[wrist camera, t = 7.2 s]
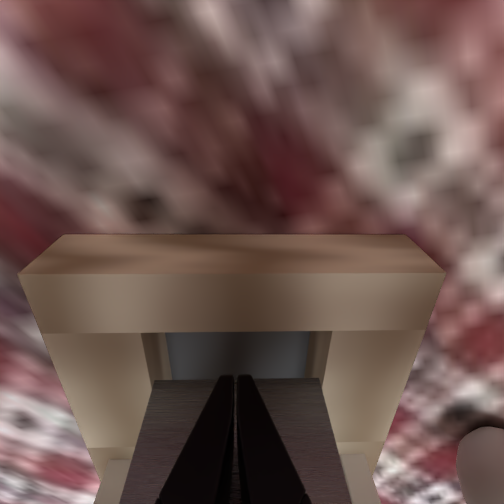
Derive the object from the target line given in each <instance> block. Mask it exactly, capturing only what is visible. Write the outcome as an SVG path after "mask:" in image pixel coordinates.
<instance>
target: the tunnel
mask: <svg viewBox="0 0 504 504" xmlns="http://www.w3.org/2000/svg"><path fill="white" fill-rule="evenodd" d="M131 460H132V459H118V460H109V461H108V464H107V467H106V470H105V472H104V475H103V478H102V481H101V484H100V487H99V490H98V493H97V495H96V498H95V501H94V504H119V502H120V498H121V495H122V491H123V488H124V485H125V481H126V478H127V474H128V471H129V467H130V464H131ZM340 460H341V464H342V468H343V471H344V475H345V479H346V483H347V487H348V490H349V494H350V498H351V502H352V504H381V502H380V499H379V496H378V493H377V490H376V487H375V484H374V481H373V478H372V475H371V472H370V469H369V465H368V462H367V459H366V456H365V454H340Z"/></svg>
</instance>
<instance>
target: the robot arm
mask: <svg viewBox="0 0 504 504" xmlns="http://www.w3.org/2000/svg"><path fill="white" fill-rule="evenodd" d="M236 416H237V459H238V470H239V480H240V489H241V499H242V504H312V501H311V499H310V497H309V495H308V494H307V493H306V489H305V487H304V485H303V483H302V481H301V479H300V476H299V474H298V472H297V470H296V468H295V466H294V464H293V462H292V459H291V457H290V455H289V453H288V451H287V449H286V447H285V445H284V443H283V440H282V438H281V436H280V434H279V432H278V430H277V428H276V426H275V424H274V421H273V419H272V417H271V415H270V413H269V411H268V409H267V407H266V404H265V402H264V400H263V398H262V396H261V394H260V392H259V390H258V388H257V385H256V383H255V381H254V379H253V377H252V376H251V375H250V374H239V375H238V376H237V403H236ZM234 418H235V387H234V375H232V374H227V375H220V376H219V378H218V379H217V381H216V383H215V385H214V387H213V389H212V391H211V393H210V395H209V397H208V399H207V401H206V403H205V405H204V407H203V409H202V411H201V413H200V415H199V417H198V419H197V420H196V422H195V424H194V426H193V428H192V430H191V432H190V434H189V436H188V438H187V440H186V442H185V444H184V446H183V448H182V450H181V452H180V454H179V456H178V458H177V460H176V461H175V463H174V465H173V467H172V469H171V471H170V473H169V475H168V477H167V479H166V481H165V483H164V485H163V487H162V489H161V491H160V493H159V495H158V496H159V498H157V499H156V500H155V502H154V504H229V496H230V487H231V479H232V470H233V461H234Z"/></svg>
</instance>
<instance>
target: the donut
mask: <svg viewBox="0 0 504 504" xmlns="http://www.w3.org/2000/svg"><path fill="white" fill-rule="evenodd" d="M456 469H457V474H458V478H459V482H460V486H461V490H462V494H463V497H464V499H465V501H466V503H467V504H504V429H500V428H495V427H480V428H478V429H476V430H474V431H472V432H470V433H469V434H467V435H466V436H464V438H463V439H462V440H461V441H460V443H459V447H458V452H457V460H456Z"/></svg>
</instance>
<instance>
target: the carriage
mask: <svg viewBox="0 0 504 504" xmlns="http://www.w3.org/2000/svg"><path fill="white" fill-rule="evenodd" d="M216 381H217V379H202V380H155V381H154V384H153V387H152V391H151V394H150V398H149V401H148V405H147V408H146V412H145V415H144V419H143V422H142V426H141V429H140V433H139V436H138V439H137V443H136V446H135V450H134V453H133V457H132V460H131V464H130V467H129V471H128V474H127V478H126V481H125V485H124V488H123V491H122V495H121V498H120V502H119V504H154V502H155V500H156V499H157V498H159V496H158V495H159V493H160V491H161V489H162V487H163V485H164V483H165V481H166V479H167V477H168V475H169V473H170V471H171V469H172V467H173V465H174V463H175V461H176V460H177V458H178V456H179V454H180V452H181V450H182V448H183V446H184V444H185V442H186V440H187V438H188V436H189V434H190V432H191V430H192V428H193V426H194V424H195V422H196V420H197V419H198V417H199V415H200V413H201V411H202V409H203V407H204V405H205V403H206V401H207V399H208V397H209V395H210V393H211V391H212V389H213V387H214V385H215V383H216ZM254 381H255V383H256V385H257V388H258V390H259V392H260V394H261V396H262V398H263V400H264V402H265V404H266V407H267V409H268V411H269V413H270V415H271V417H272V419H273V421H274V424H275V426H276V428H277V430H278V432H279V434H280V436H281V438H282V440H283V443H284V445H285V447H286V449H287V451H288V453H289V455H290V457H291V459H292V462H293V464H294V466H295V468H296V470H297V472H298V474H299V476H300V479H301V481H302V483H303V485H304V487H305V489H306V493H307V494H308V495H309V497H310V499H311V501H312V504H352V502H351V498H350V494H349V490H348V487H347V483H346V479H345V475H344V471H343V468H342V464H341V460H340V456H339V452H338V449H337V445H336V441H335V437H334V433H333V429H332V426H331V422H330V418H329V414H328V410H327V407H326V403H325V399H324V395H323V391H322V388H321V384H320V380H319V378H268V379H254ZM234 387H235V418H234V461H233V470H232V479H231V487H230V496H229V504H242V499H241V489H240V480H239V470H238V459H237V416H236V403H237V379H234Z"/></svg>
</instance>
